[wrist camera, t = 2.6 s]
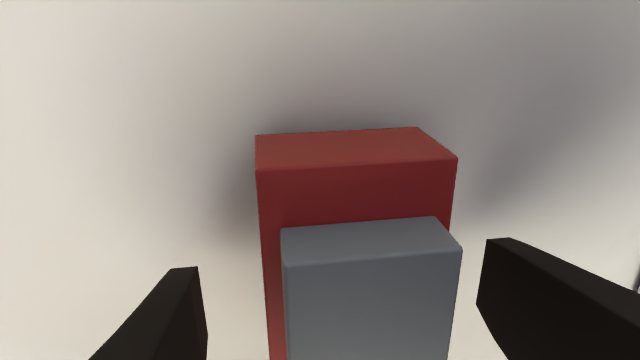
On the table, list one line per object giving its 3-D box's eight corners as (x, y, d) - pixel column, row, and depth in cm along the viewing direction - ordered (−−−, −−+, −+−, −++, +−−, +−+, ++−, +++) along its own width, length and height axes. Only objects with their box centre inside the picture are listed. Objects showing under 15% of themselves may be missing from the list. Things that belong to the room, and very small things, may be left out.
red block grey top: (410, 120, 11) (496, 182, 7) (394, 322, 14) (451, 449, 10) (255, 127, 11) (254, 200, 7) (270, 336, 13) (277, 477, 9)
